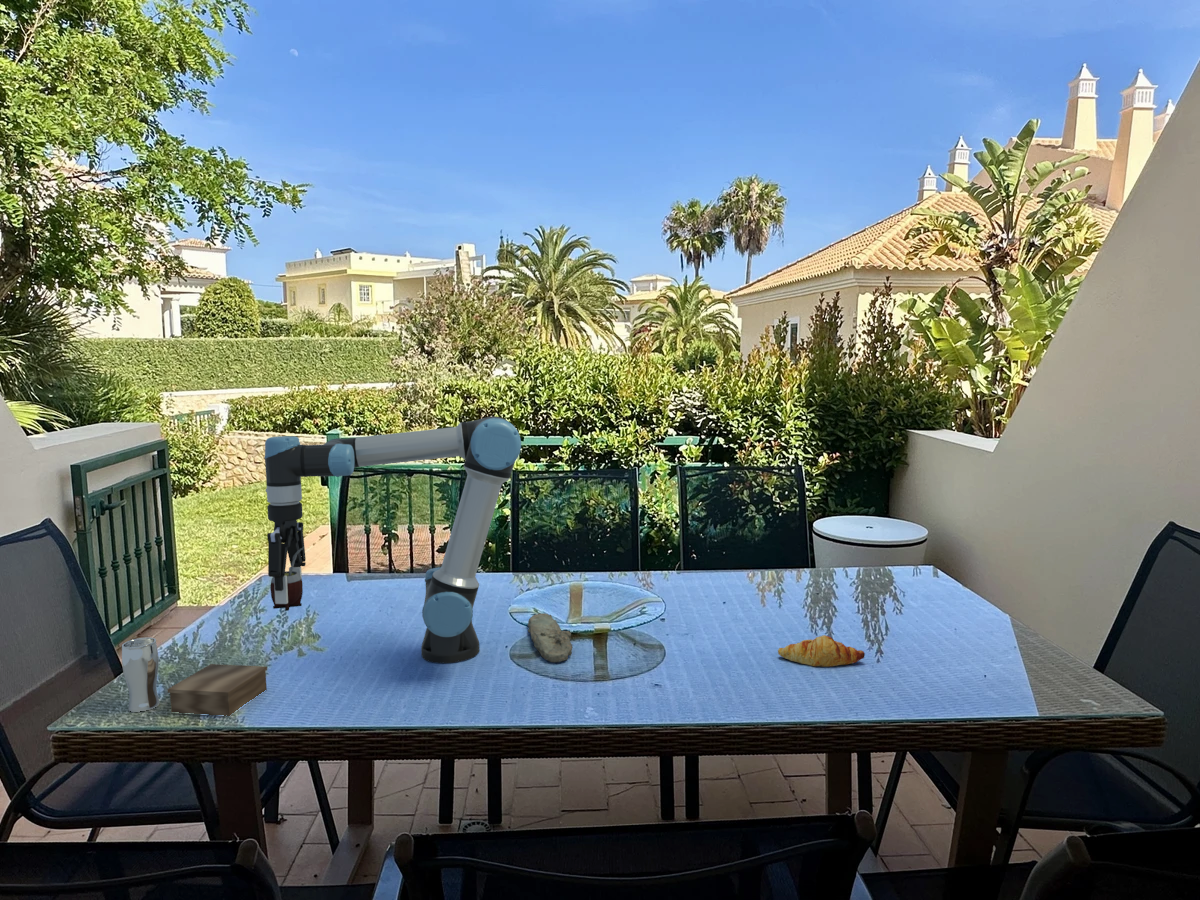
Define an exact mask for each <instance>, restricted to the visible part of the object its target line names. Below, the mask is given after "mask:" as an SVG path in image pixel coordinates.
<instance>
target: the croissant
mask: <svg viewBox="0 0 1200 900" xmlns="http://www.w3.org/2000/svg"><path fill="white" fill-rule="evenodd" d="M777 653H778V655H779V656H780V657H782V658H784V659H786V660H788V661H791V662H795V663H799V664H801V665H806V666H811V667H823V668H824V667H825V668H827V667H828V668H829V667H835V666H844V665H850V664H851V665H852V664H855V663H857V662H859V661H861V660H863V659H864V658H865V656H866V653H865V652H864V650H857V649H856V648H855V647H851V646H846V645H844V643H842V642H840V641H837V640H834V639H833V638H832V637H831V636H828V635H825V634H824V635H820V636H817V637H815V638H813V639H803V640H801V641H800V642H797V643H790V644H787V645H786V646H785V647H779V648H778V649H777Z"/></svg>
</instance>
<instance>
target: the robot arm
mask: <svg viewBox="0 0 1200 900" xmlns="http://www.w3.org/2000/svg"><path fill="white" fill-rule="evenodd" d="M521 440H522V439H521V436H520V434H519V431H518V429H517V428H516V427H515V426H514V424H512V423H511V422H510V421H508V420H507V419H505V418H504V417H500V416H497V415H496V416H493V415H492V416H487V417H483V418H480V419H476V420H471V421H469V420H468V421H463V422H459V423H458V424H457V426H453V427H443V428H433V429H426V430H416V431H415V430H413V431H405V432H398V433H397V432H395V433H388V434H387V433H386V434H378V435H377V434H376V435H369V436H368V435H367V436H357V437H349V438H341V437H340V438H332V439H330V440H328V441H326V442H325V443H324V444H323V443H322V444H301V442H300V438H299V437H297V436H293V435H291V436H289V435H283V436H280V435H279V436H272V437H268V438H267V439H265V442H264V457H263V459H264V465H265V479H266V488H265V492H266V498H267V499H266V501H267V503H269V504H268V505H267V520H268V521H270V522H272V523H274V525H273V532H268V533H266V538H267V543H268V551H267V552H268V553H267V554H268V555H267V557H268V559H267V561H268V564H267V565H268V566H267V571H268V573H267V574H268V577H272V578H273V577H274V589H275V604H287V603H288V589H287V576H284V575H285V571H286V568H287V567H286V565H287V559H289V563H290V565H291V564H292V560H293V559H292V558H293V556H294V555H295V553H296V552H297V551H298V550H299V549H301V548H302V547H304V548H303V549H302V550H301V551H300V552H299V553H298V554H297V557H296V560H295V563H294V566H293V570H292V571H294V572H297V573H298V574H299V575H300V576H301V579H302V578H303V576H302V567H306V565H307V564H306V563H307V562H306V549H305V541H304V540H305V539H304V522H302V521H301V522H300V521H299V522H298V520H301V519H302V517H303V504H302V502H301V501H302V500H303V492H302V478H308V477H310V478H311V477H337V478H340V477H345V476H351V475H352V474H353V473H354V469H356V468H362V467H370V466H379V465H381V466H382V465H388V464H389V465H390V464H398V463H407V462H408V463H409V462H415V461H417V462H418V461H426V460H433V459H434V460H435V459H437V460H438V459H444V458H454V457H456V458H457V457H460V458H462V459H463V460H464V463H463V469H464V470H465V472H466V475H467V476H466V479H465V482H464V486H463V490H462V493H461V496H460V501H459V504H458V507H457V511H456V514H455V518H454V520H453V521H454V522H453V525H452V529H451V532H450V534H449V539H448V542H447V546H446V549H445V551H444V557H443V559H442V564H441V567H433V568H430V569H428V570H427V571H426V572H425V574H424V575H425V576H424V577H425V578H424V582H425V597H424V603H423V607H422V611H421V613H422V616H421V617H422V620H423V623H424V625H425V627H426V630H425V632H424V637H423V640H422V644H421V646H420V647H421V649H420V652H421V657H422V659H424V660H425V661H427V662H431V663H434V664H435V663H436V664H437V663H438V664H451V663H452V664H453V663H459V662H464V661H467V660H470V659H472V658H474V657H476V656H477V655H478V654H479V653H480V641H479V638H478V635H477V633H476V630H475V627H474V625H473V616H474V614H473V612H474V610H473V609H474V608H473V607H474V605H475V601H476V598H477V595H478V591H479V586H480V583H479V581H478V579H477V578H476V577H477V571H478V569H479V564H480V561H481V558H482V555H483V551H484V547H485V545H486V541H487V537H488V533H489V530H490V526H491V522H492V519H493V516H494V513H495V510H496V505H497V503H498V500H499V499H498V498H499V495H500V492H501V489H502V485H503V484H504V483H506V482H507V481H510V479H511V476H512V473H513V470H514V465H515V462H516V461H517V459H518V457H519V456H520V453H521V449H522V441H521ZM287 557H288V558H287ZM290 568H291V566H290V567H288V571H290ZM302 580H303V579H302Z"/></svg>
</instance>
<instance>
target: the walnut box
mask: <svg viewBox="0 0 1200 900" xmlns="http://www.w3.org/2000/svg"><path fill="white" fill-rule="evenodd" d="M267 671H268V666H262V665H261V666H260V665H243V664H242V665H241V664H239V665H238V664H220V663H218V664H217V663H215V664H214V663H210V664H208V665H207V666H205V667H203V668H201V669H199V670H198V671H196V672H195V673H192V674H191V675H189V676H188V677H186V678H184V679H183V680H181V681H179V682H177V683H176V684H174V685H172V686H170V687H169V688H167V694H169V697H170V698H169V699H170V708H171V709H170V710H171V712H179V713H194V714H209V715H224V716H226V715H227V716H230V715H231V714H232V713H234V712H235V711H236V710H238V709H239V708H240V707H242V706H243V705H244V704H246V703H247V702H249V701H250V700H252V699H254V698H255V697H256V696H258V695H259V694H261V693H262V692H264V691H265V690H266V691H268V690H267ZM266 691H265V692H266ZM265 692H264V693H265ZM262 694H263V693H262ZM262 694H261V695H262ZM259 696H260V695H259ZM259 696H258V697H259ZM255 699H256V698H255ZM255 699H254V700H255ZM252 701H253V700H252ZM238 711H239V710H238ZM171 712H170V713H171ZM234 714H235V713H234ZM231 716H232V715H231ZM231 716H230V717H231Z"/></svg>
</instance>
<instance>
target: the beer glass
mask: <svg viewBox="0 0 1200 900" xmlns="http://www.w3.org/2000/svg"><path fill="white" fill-rule="evenodd" d="M159 660H160V659H159V651H158V645H157V639H156V638H155V637H138V638H134V639H131V640H127V641H126V642H124V643H122V645H121V665H122V672H123V676H124V679H125V682H126V686H127V689H128V693H129V697H128V698H129V700H128V708H127V710H128V712H130V711H131V712H130V713H134V712H138V713H141V712H140V711H145V712H147V711H146V710H149V711H151V710H150V709H152V710H154V709H156V708H158V707H159V705H160V703H161V702H160V698H159V695H158V689H157V683H158V675H159V673H158V672H159V664H160V663H159V662H160V661H159ZM155 707H156V708H155ZM153 708H154V709H153Z"/></svg>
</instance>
